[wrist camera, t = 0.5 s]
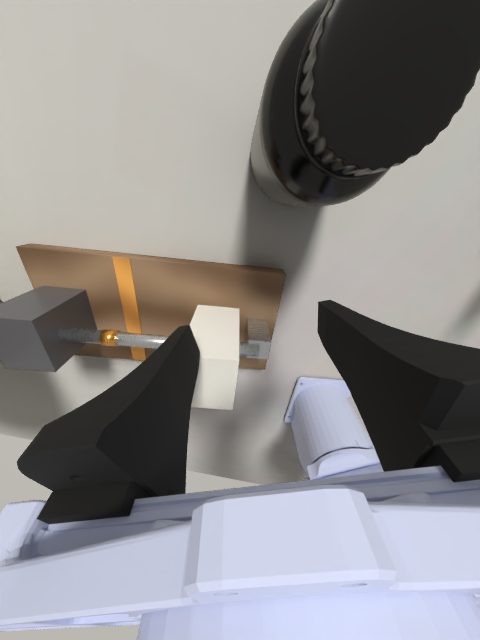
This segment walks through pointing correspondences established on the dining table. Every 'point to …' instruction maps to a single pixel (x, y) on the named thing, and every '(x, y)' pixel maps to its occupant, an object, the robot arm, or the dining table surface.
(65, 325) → the block
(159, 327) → the board
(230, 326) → the sleeve
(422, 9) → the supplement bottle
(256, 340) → the rail
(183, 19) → the dining table surface
